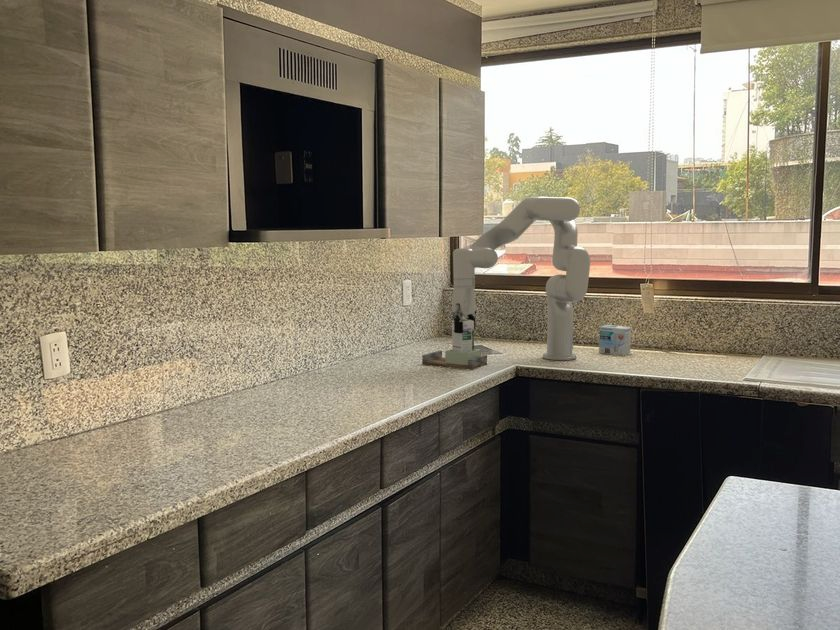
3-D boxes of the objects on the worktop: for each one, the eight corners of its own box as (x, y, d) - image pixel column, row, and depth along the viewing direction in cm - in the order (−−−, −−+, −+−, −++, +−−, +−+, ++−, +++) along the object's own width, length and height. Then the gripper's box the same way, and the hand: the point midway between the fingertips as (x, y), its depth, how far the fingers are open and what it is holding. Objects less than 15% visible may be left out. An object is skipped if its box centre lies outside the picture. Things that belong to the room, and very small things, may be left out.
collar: (457, 359, 281) (457, 347, 281) (480, 361, 277) (480, 349, 276) (445, 363, 273) (445, 350, 273) (468, 365, 269) (468, 353, 268)
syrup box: (461, 362, 271) (461, 321, 269) (451, 359, 276) (451, 319, 274) (474, 360, 274) (474, 320, 272) (464, 358, 279) (464, 318, 277)
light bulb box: (598, 353, 302) (599, 326, 301) (604, 351, 307) (605, 324, 306) (624, 356, 296) (625, 328, 294) (630, 353, 301) (631, 326, 300)
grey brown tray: (438, 359, 287) (438, 350, 287) (486, 364, 277) (486, 355, 276) (422, 364, 277) (422, 355, 276) (471, 370, 267) (472, 360, 266)
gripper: (465, 281, 281) (466, 327, 283) (443, 285, 266) (444, 334, 268) (484, 281, 277) (485, 328, 279) (462, 285, 262) (463, 335, 265)
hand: (465, 331), depth 274 cm, fingers open, 9 cm apart
